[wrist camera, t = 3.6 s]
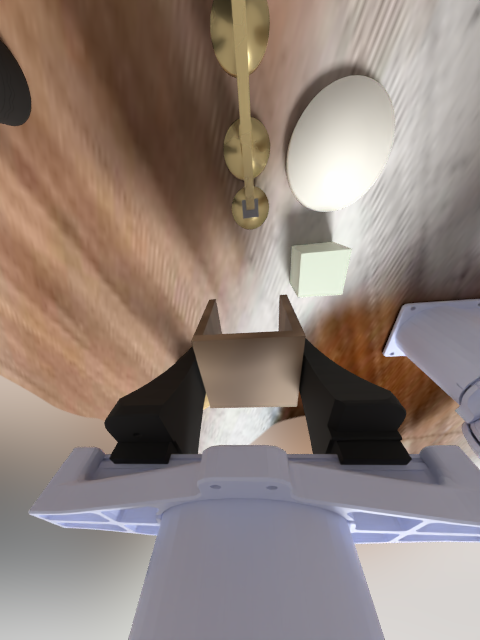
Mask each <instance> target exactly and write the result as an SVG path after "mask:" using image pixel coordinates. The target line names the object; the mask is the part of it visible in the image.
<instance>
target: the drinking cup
mask: <svg viewBox="0 0 480 640" xmlns="http://www.w3.org/2000/svg"><path fill="white" fill-rule="evenodd" d="M30 112H31V97H30V92H29V88H28V85H27V82H26V79H25V77H24V75H23V73H22V70H21V69H20V67H19V65H18V63H17V62H16V60H15V58H14V57H13V55H12V54H11V53H10V51H9V50H8V49H7V47H6V46H5V45H4V44H3V43H2V42H1V41H0V123H2V124H6V125H10V126H19V125H22V124H23V123H25V122H26V121H27V119H28V118H29V116H30Z"/></svg>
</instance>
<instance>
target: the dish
mask: <svg viewBox="0 0 480 640" xmlns="http://www.w3.org/2000/svg"><path fill="white" fill-rule="evenodd" d="M394 133H395V115H394V109H393V105H392V101H391V99H390V97H389V95H388V93H387V92H386V90H385V89H384V87H383V86H382V85H381V84H380V83H379V82H377V81H375V80H374V79H372V78H369V77H367V76H361V75H353V76H347V77H343V78H341V79H338V80H336V81H334V82H333V83H331V84H329V85H328V86H326V87H325V88H324V89H323V90H322V91H320V92H319V93H318V94H317V95H316V96H315V97H314V98H313V99H312V101H311V102H310V103H309V105H308V106H307V107H306V109H305V110H304V112H303V114H302V115H301V117H300V119H299V121H298V122H297V124H296V126H295V129H294V131H293V133H292V136H291V139H290V142H289V146H288V151H287V158H286V173H287V179H288V183H289V186H290V189H291V191H292V193H293V195H294V196H295V198H296V199H297V200H298V201H299V202H300V203H301V204H302V205H303V206H305V207H306V208H308V209H310V210H314V211H320V212H331V211H336V210H340V209H343V208H345V207H347V206H349V205H351V204H352V203H354V202H356V201H357V200H358V199H359V198H361V197H362V196H363V195H364V194H365V193H366V192H367V191H368V190H369V189H370V188H371V187H372V185H373V184H374V183H375V181H376V180H377V179H378V177H379V176H380V174H381V172H382V171H383V169H384V167H385V165H386V162H387V160H388V157H389V155H390V152H391V148H392V145H393V140H394Z"/></svg>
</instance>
